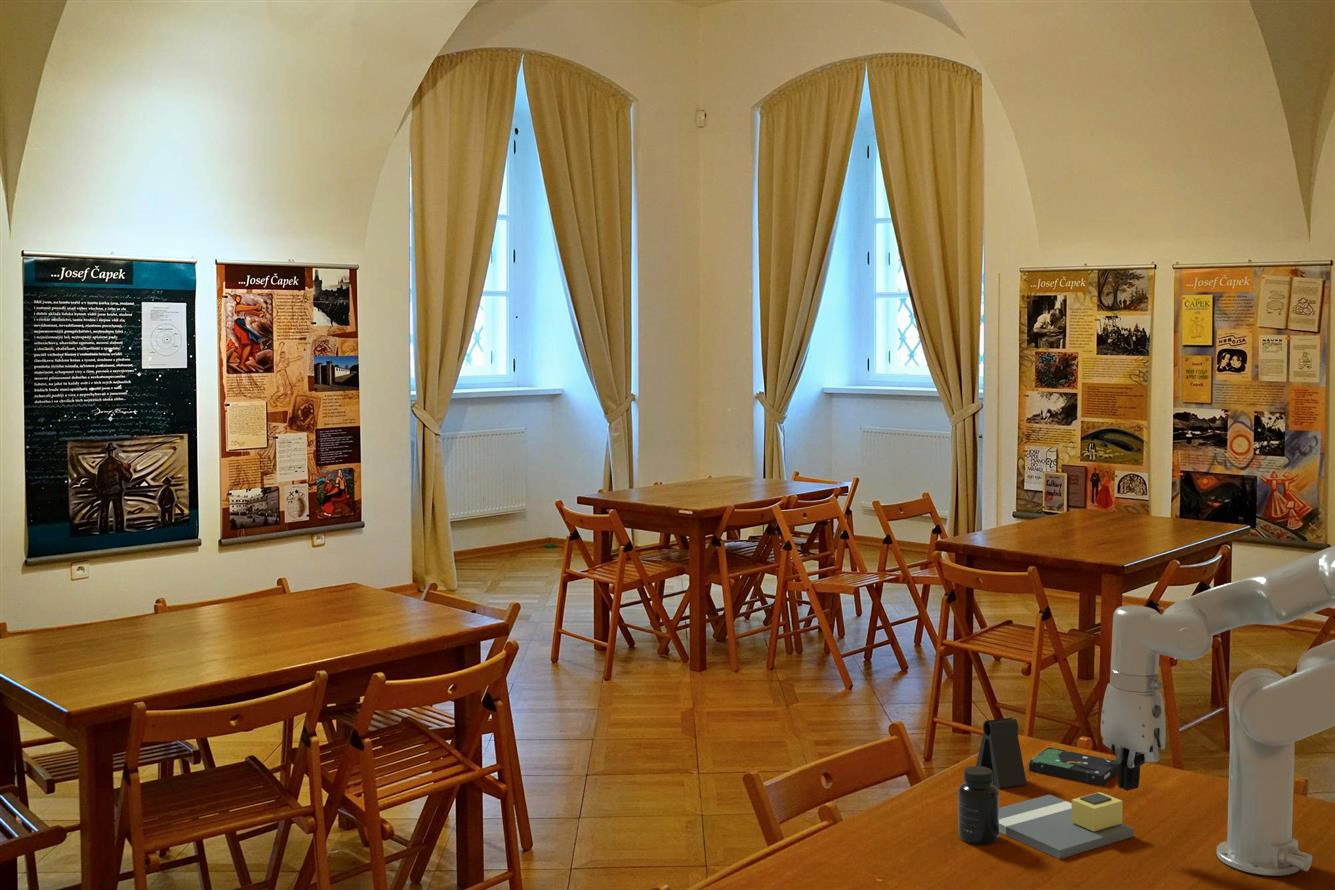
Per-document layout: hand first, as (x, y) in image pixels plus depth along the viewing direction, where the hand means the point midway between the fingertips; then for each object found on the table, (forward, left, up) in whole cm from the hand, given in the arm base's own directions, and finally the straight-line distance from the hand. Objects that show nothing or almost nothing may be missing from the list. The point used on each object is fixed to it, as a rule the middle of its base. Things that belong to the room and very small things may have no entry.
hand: (1128, 787), depth 213 cm
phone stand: (+35, -5, -11) cm, 37 cm away
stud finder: (+7, 0, -9) cm, 11 cm away
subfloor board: (+12, +5, -10) cm, 16 cm away
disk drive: (+31, -22, -11) cm, 39 cm away
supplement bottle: (+16, +19, -11) cm, 27 cm away
